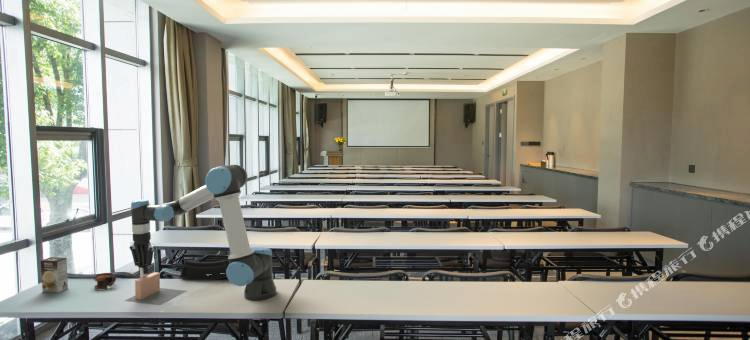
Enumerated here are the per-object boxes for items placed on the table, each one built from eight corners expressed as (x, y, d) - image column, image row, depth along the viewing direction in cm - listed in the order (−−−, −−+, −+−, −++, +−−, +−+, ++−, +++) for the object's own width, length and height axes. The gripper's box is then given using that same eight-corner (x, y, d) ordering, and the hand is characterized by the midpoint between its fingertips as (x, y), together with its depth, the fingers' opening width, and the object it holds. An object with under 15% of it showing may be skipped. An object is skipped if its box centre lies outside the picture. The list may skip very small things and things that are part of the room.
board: (159, 290, 209) (159, 272, 208) (140, 299, 197) (140, 281, 196) (154, 289, 209) (154, 272, 208) (135, 298, 198) (135, 280, 197)
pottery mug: (88, 291, 211) (89, 274, 214) (103, 293, 219) (105, 277, 223) (108, 286, 209) (110, 269, 212) (123, 288, 218) (124, 272, 221)
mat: (187, 292, 208) (187, 290, 208) (160, 306, 191) (160, 305, 191) (153, 288, 213) (153, 287, 213) (124, 302, 196) (124, 300, 196)
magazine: (174, 263, 225) (227, 247, 224) (177, 261, 229) (229, 245, 228) (185, 293, 227) (237, 277, 226) (187, 290, 230) (239, 275, 229)
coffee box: (41, 292, 208) (39, 260, 207) (52, 287, 215) (50, 256, 213) (58, 292, 207) (56, 261, 206) (69, 288, 214) (67, 257, 212)
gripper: (158, 231, 203) (161, 278, 205) (136, 229, 206) (138, 276, 208) (146, 234, 196) (149, 283, 198) (123, 233, 199) (126, 281, 201)
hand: (143, 280), depth 203 cm, fingers closed
